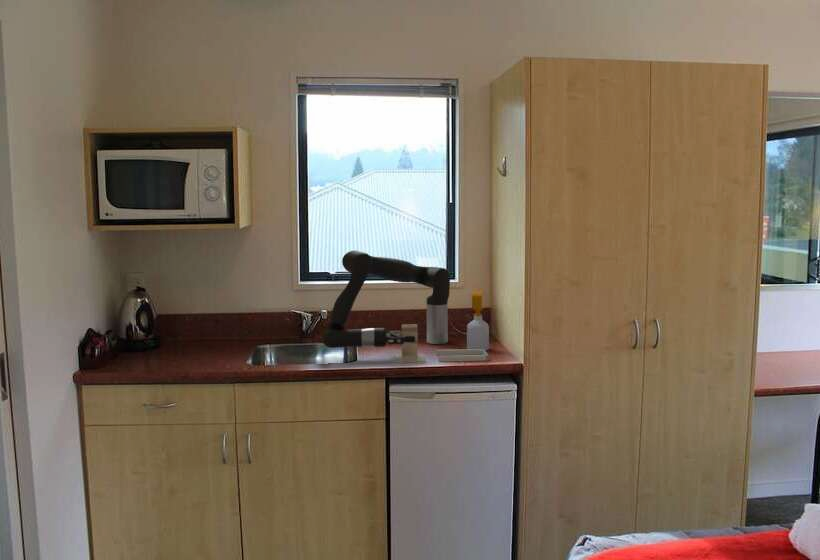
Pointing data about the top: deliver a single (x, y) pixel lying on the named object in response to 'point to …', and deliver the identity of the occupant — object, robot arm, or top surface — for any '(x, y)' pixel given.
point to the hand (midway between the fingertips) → (414, 336)
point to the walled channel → (463, 355)
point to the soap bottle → (477, 326)
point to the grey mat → (420, 359)
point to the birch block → (410, 347)
